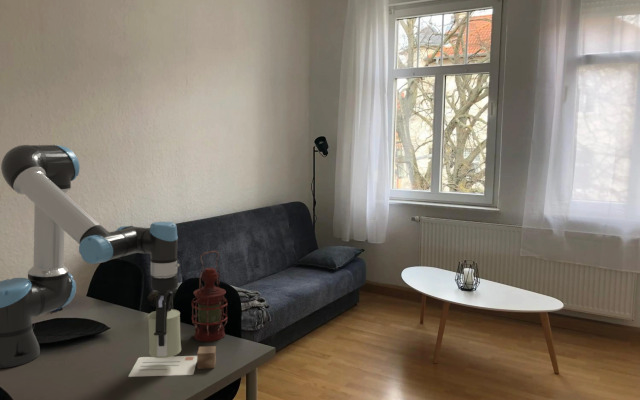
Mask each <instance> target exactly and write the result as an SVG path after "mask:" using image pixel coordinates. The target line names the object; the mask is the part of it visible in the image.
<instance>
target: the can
mask: <svg viewBox="0 0 640 400" xmlns="http://www.w3.org/2000/svg"><path fill="white" fill-rule="evenodd" d="M180 316H181V312H180V311H179V310H177V309H174V308H173V309H171V311H168V312H167V319H166V322H167V327H166V333H167V356H157V335H154V333H155V329H156V310H155V311H151V312H150V313H149V314H147V321H148V322H147V323H148V345H149V346H148V347H149V350H148V351H149V352H148V355H149V357H155V358H167V357H171V356H178V354H180V353H181V351H182V344H181V317H180Z"/></svg>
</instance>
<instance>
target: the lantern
mask: <svg viewBox="0 0 640 400" xmlns="http://www.w3.org/2000/svg"><path fill="white" fill-rule="evenodd" d="M211 253H216V254H217V258H216V260H215V266H216V268H214V267H206V268H204V267H202V268H201V271H200V273H199V281H198V282H199V283H198V284H199V285H198V286H199V287H198V288H197V289H195V290H194V291H193V295H194V297H193V299H192V300H191V309H192V311H191V314H192V315H191V321H192V324H193V325H194V327H195V328H194V330H195V332H194V335H193V338H194V339H195V340H196V341H199V342H205V343H206V342H208V343H209V342H215V341H216V342H217V341H220V340H222V338H223V337H224V336H226V333H225V326H226V324H227V323H228V305H229V304H228V300H227V298H226V297H225V295H226V294H227V293H226V292H227V291H226V289H224V288H221V287H220V286H219V285H220V283H221V282H220V281H221V280H220V279H221V278H220V277H221V276H220V275H221V273H220V269H219V268H218V263H217V262H218V259H219V255H220V253H219V251H217V250H210V251H206V252H203V253H202V254H201V255H200V262H201V264H202V265H204V262H203V260H202V257H203V256H204V255H207V254H211ZM216 269H217V270H218V271H217V270H216ZM201 281H202V282H204V286H203V284H202V282H201ZM215 282H216V285H217V286H216V285H215ZM224 303H225V304H224ZM224 308H225V313H224ZM194 310H195V314H194ZM224 317H225V318H224ZM194 318H195V319H194ZM224 322H225V323H224ZM223 323H224V324H223ZM224 338H225V337H224ZM224 338H223V339H224Z"/></svg>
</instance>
